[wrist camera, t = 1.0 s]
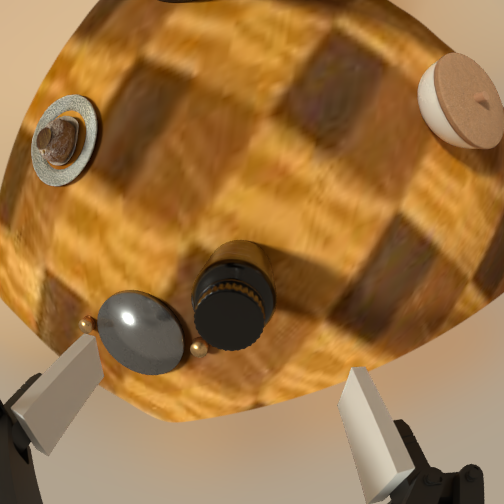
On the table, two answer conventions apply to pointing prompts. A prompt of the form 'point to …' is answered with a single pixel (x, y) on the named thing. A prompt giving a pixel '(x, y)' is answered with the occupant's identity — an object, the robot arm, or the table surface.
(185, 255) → the table surface
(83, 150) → the grey ring with stone
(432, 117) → the lidded jar
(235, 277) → the supplement bottle
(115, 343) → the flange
